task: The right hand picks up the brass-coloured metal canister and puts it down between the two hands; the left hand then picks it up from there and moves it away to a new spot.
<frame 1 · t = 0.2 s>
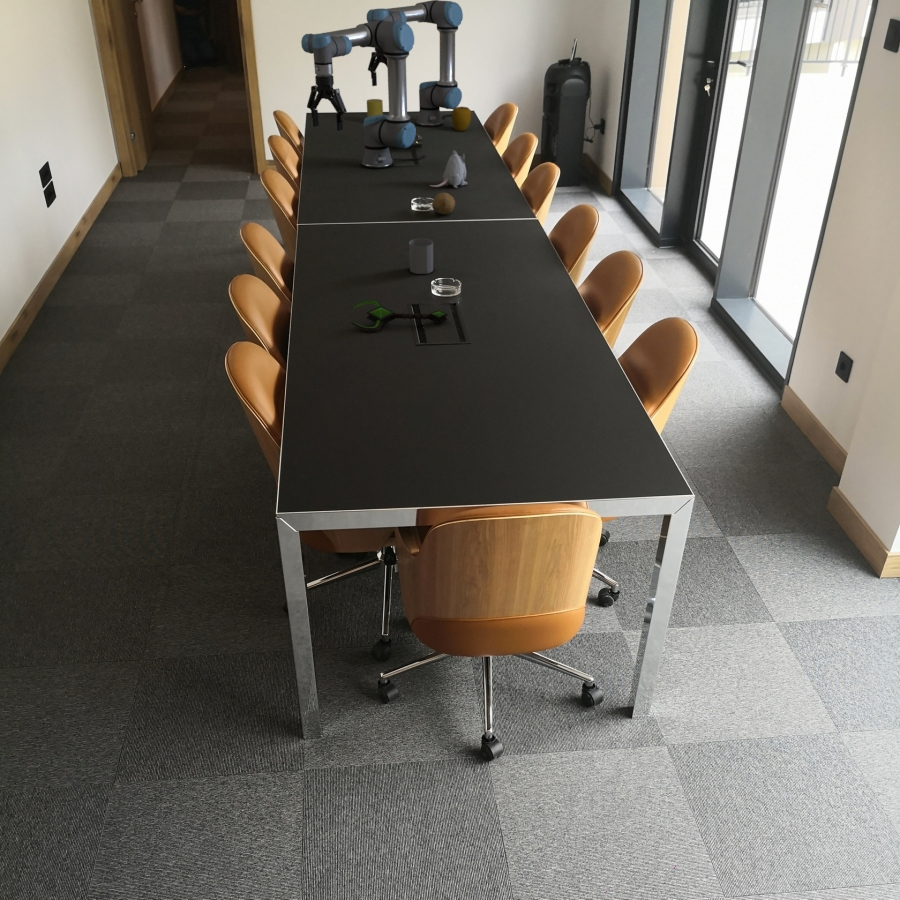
left hand: (327, 128, 373), 28 cm above the table, tool pointing down, fingers open, 13 cm apart
right hand: (383, 87, 452), 28 cm above the table, tool pointing down, fingers open, 13 cm apart
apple: (461, 130, 491), on the table
potato: (443, 213, 363), on the table
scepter: (399, 324, 270), on the table
canister: (375, 122, 508), on the table
cup: (421, 270, 308), on the table
toy: (447, 188, 394), on the table
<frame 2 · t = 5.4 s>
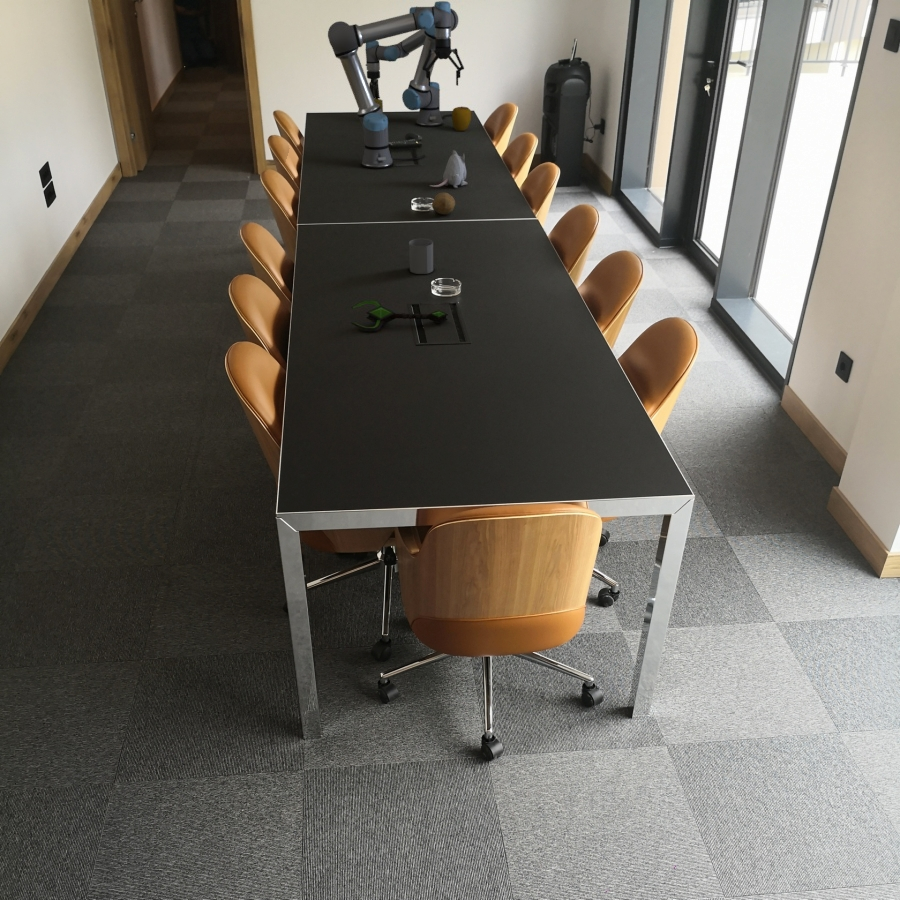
left hand: (443, 85, 425), 34 cm above the table, tool pointing down, fingers open, 13 cm apart
right hand: (375, 112, 505), 6 cm above the table, tool pointing down, fingers closed on canister, 9 cm apart
canister: (375, 122, 508), on the table, touching right hand
everything else where it was.
when the right hand's fingers open (7 cm above the table, at t = 11.7 s): canister drops 1 cm, on the table.
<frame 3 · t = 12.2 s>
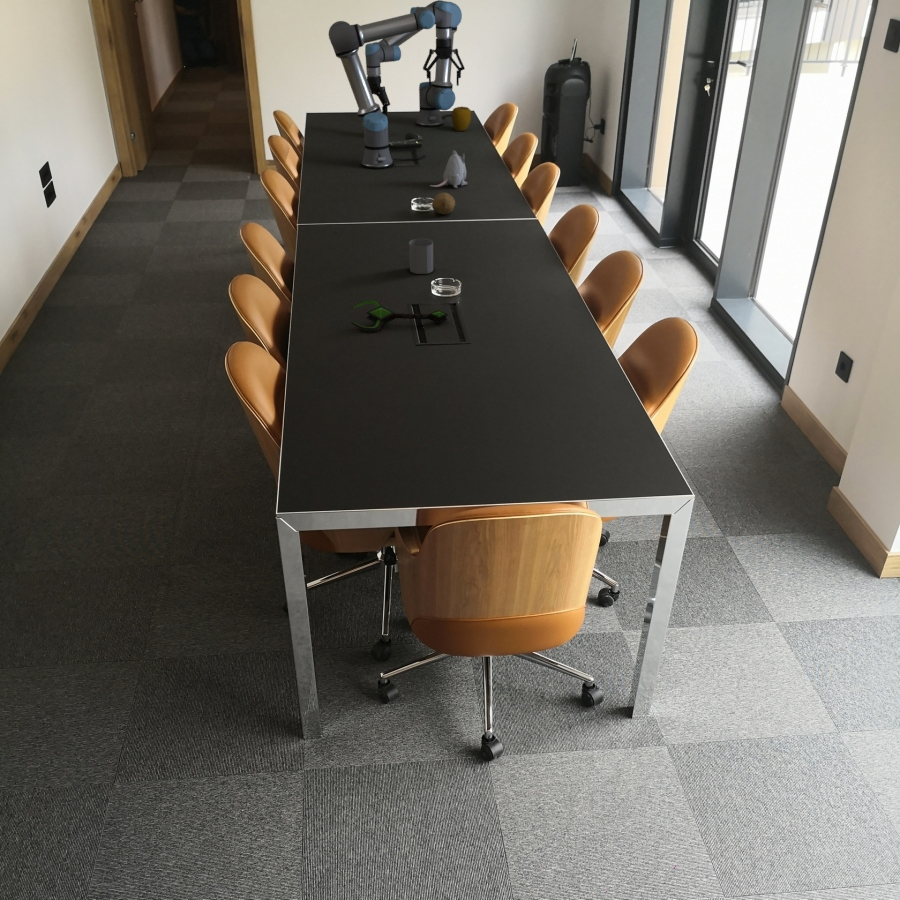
left hand: (443, 85, 426), 34 cm above the table, tool pointing down, fingers open, 13 cm apart
right hand: (376, 117, 472), 10 cm above the table, tool pointing down, fingers open, 13 cm apart
canister: (376, 137, 478), on the table
everything else where it was.
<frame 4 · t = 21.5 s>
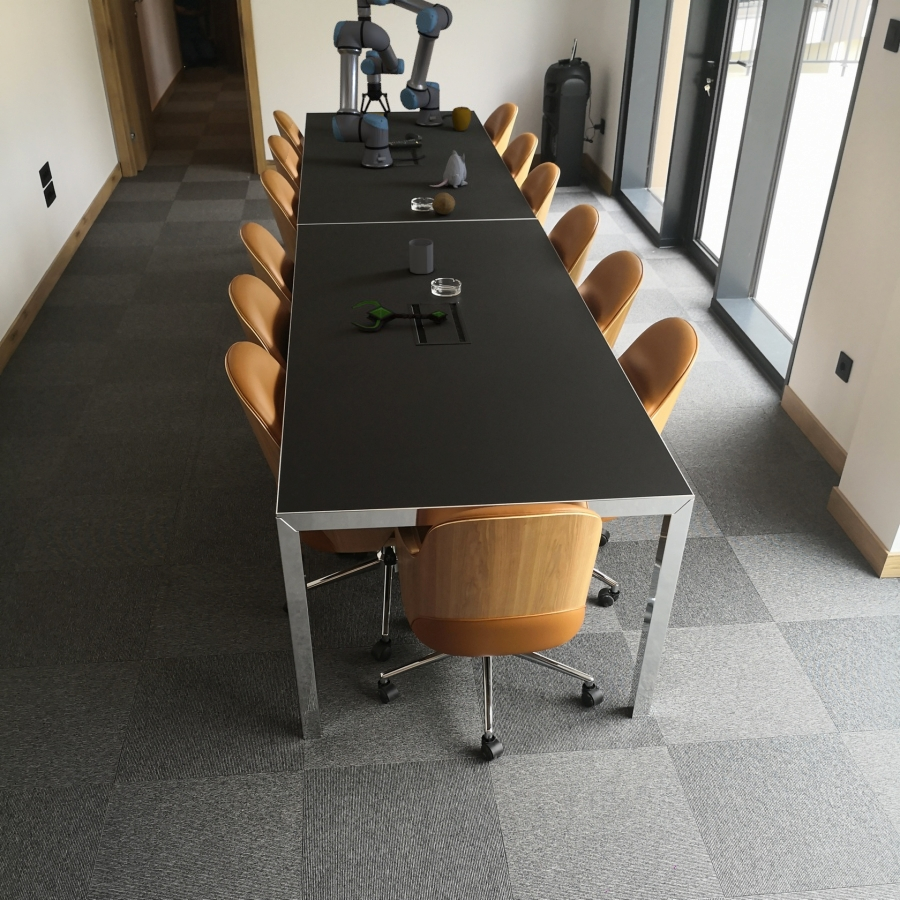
left hand: (376, 126, 475), 6 cm above the table, tool pointing down, fingers closed on canister, 9 cm apart
right hand: (366, 57, 496), 34 cm above the table, tool pointing down, fingers open, 13 cm apart
canister: (376, 137, 478), on the table, touching left hand
everything else where it was.
when the left hand's fingers open (7 cm above the table, at t = 30.4 s): canister drops 1 cm, on the table.
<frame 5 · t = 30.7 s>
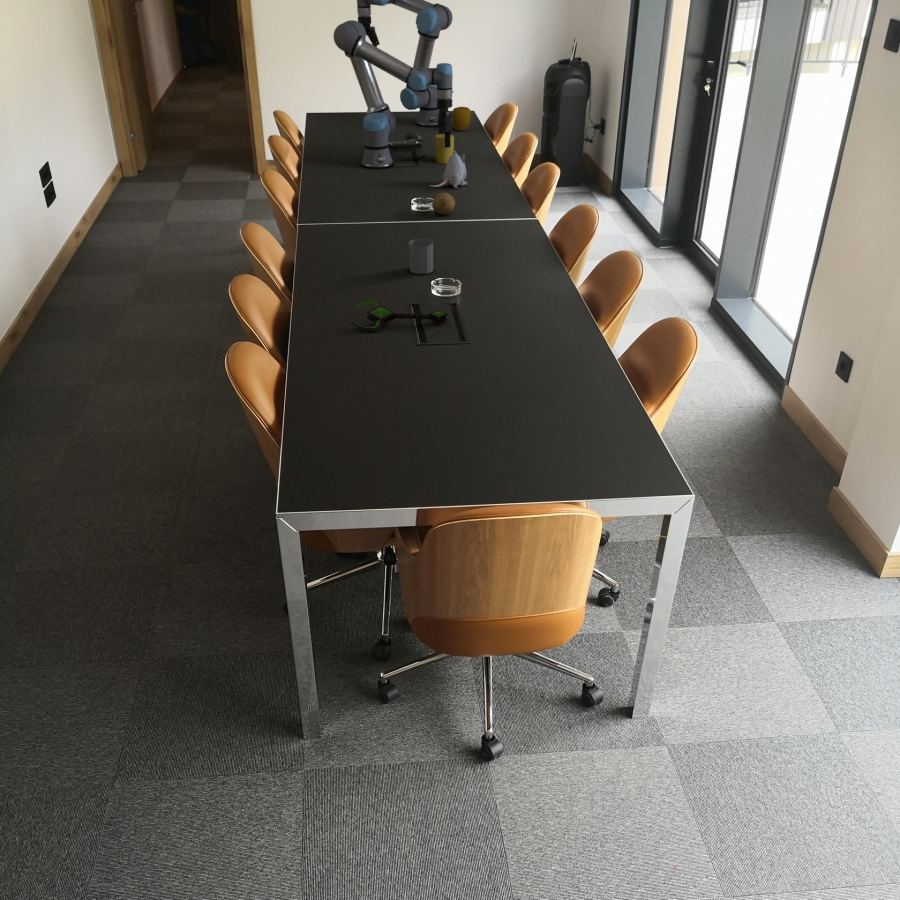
left hand: (444, 144, 430), 8 cm above the table, tool pointing down, fingers open, 12 cm apart
right hand: (366, 57, 496), 34 cm above the table, tool pointing down, fingers open, 13 cm apart
canister: (444, 161, 435), on the table
everything else where it was.
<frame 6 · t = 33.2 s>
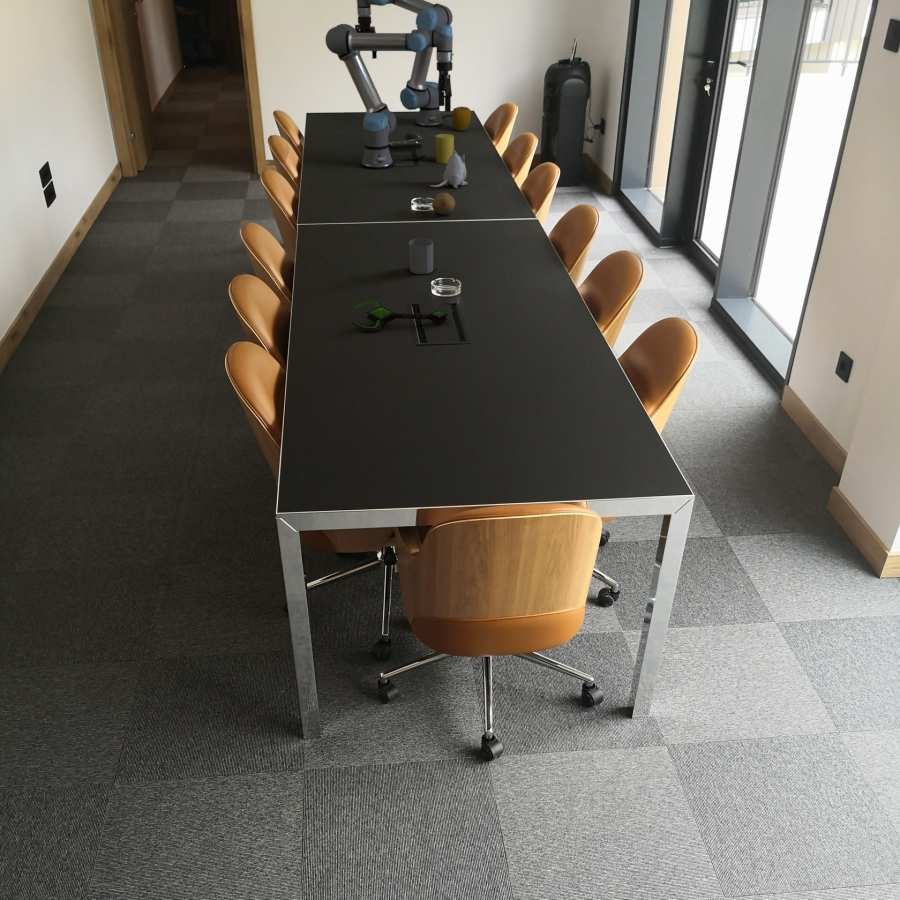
left hand: (444, 108, 421), 25 cm above the table, tool pointing down, fingers open, 13 cm apart
right hand: (366, 57, 496), 34 cm above the table, tool pointing down, fingers open, 13 cm apart
nothing on the table moved.
at the end: canister inside the target area (0.0 cm from its centre), on the table; canister tilted 0°; the two hands never held the canister at the same time; the left hand is holding nothing; the right hand is holding nothing; canister at rest at the end (0.0 cm/s) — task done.
